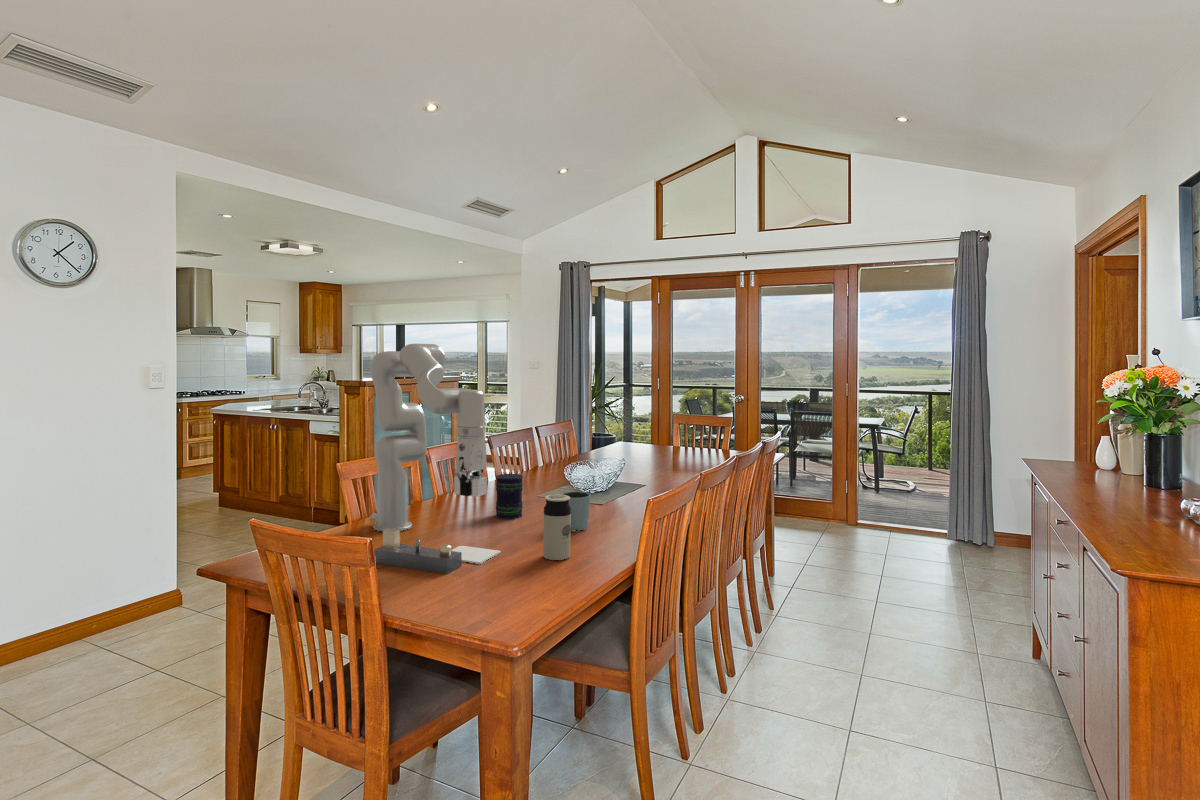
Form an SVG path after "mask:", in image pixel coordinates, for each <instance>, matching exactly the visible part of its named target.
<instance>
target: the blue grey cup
mask: <svg viewBox="0 0 1200 800" xmlns="http://www.w3.org/2000/svg"><path fill="white" fill-rule="evenodd" d="M560 495H567V496H569V497H570V500H569V505H570V507H571V530H584V529H587V528H589V518H590V516H589V515H590V505H591V496H592V495H591V493H589V492H586V491H578V490H573V491H572V490H571V491H566V492H563V493H561V494H560ZM587 530H588V529H587Z"/></svg>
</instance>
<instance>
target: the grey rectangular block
mask: <svg viewBox="0 0 1200 800" xmlns="http://www.w3.org/2000/svg"><path fill="white" fill-rule="evenodd" d="M466 475H467V474H465V476H466ZM453 479H454V480H453V482H454V483H453V486H454V487H453V488H454V490H453V494H454V495H459V496H461V495H460V482H459V478H458V476H457V475H456V476H454V478H453ZM469 482H471V495H470V496H469V497H481V496H483V495H486V494H488V476H484V475H482V476H474V475H472V474H470V479H469Z"/></svg>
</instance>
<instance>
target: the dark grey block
mask: <svg viewBox="0 0 1200 800" xmlns="http://www.w3.org/2000/svg"><path fill="white" fill-rule="evenodd" d="M451 550H452V544H448V543H447V544H446V543H445V544H444V543H443V544H440V545H439V549H438V548H434V547H433V548H432V547H425V546H421V540H420V539H415V545H412V544H411V545H410V544H402V543H401V531H400V529H392V528H387V529H384V530H383V532H382V545H381V546H379V547H376V548H374V557H375V556H376V563H375V564H380V565H386V566H391V567H399V568H406V569H411V570H412V569H413V570H418V571H424V572H432V573H437V574H438V573H439V574H443V575H444V574H445V575H448V574H451V573H452V572H454V571H456V570H458V569H459V567H460V568H461V567H462V565H463V564H462V563H463V562H462V552H455V551H451Z"/></svg>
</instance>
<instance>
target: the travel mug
mask: <svg viewBox="0 0 1200 800" xmlns="http://www.w3.org/2000/svg"><path fill="white" fill-rule="evenodd" d="M544 499H545V506H544V507H543V540H542V541H543V542H542V545H543V547H542V549H543V553H542V557H543V558H545V559H546V560H548V559H549V561H554V560H559V561H564V559H565V560H567V559H569V558H570V557H571V532H572V531H571V507H570V505H569V500H570V497H569V496H567V495H561V494H549V495H545V496H544Z"/></svg>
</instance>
